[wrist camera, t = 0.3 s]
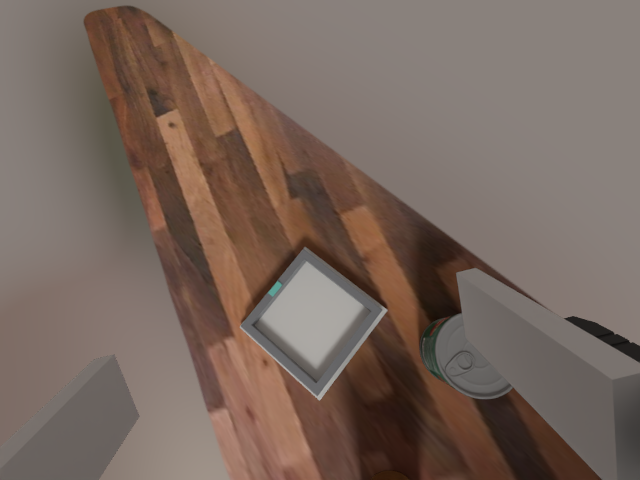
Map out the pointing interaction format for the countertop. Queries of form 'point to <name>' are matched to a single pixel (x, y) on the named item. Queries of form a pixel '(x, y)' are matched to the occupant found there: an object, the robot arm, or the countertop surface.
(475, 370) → the canned tomato
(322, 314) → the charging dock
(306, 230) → the countertop surface
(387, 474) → the disposable coffee cup
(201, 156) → the countertop surface
